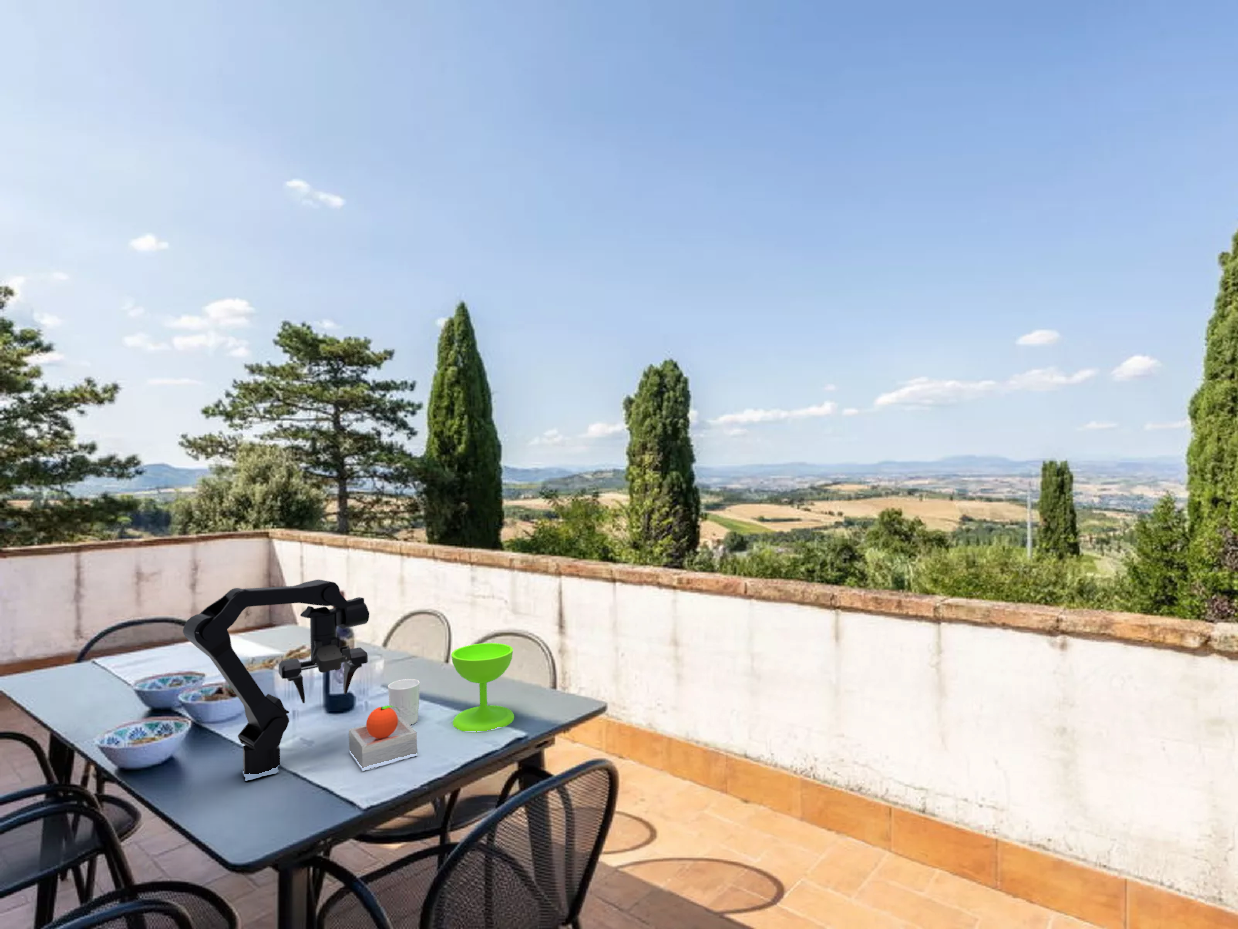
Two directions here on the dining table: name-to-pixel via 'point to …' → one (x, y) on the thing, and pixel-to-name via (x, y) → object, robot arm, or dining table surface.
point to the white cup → (405, 699)
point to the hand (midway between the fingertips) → (324, 698)
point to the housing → (382, 744)
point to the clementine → (382, 722)
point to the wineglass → (482, 684)
